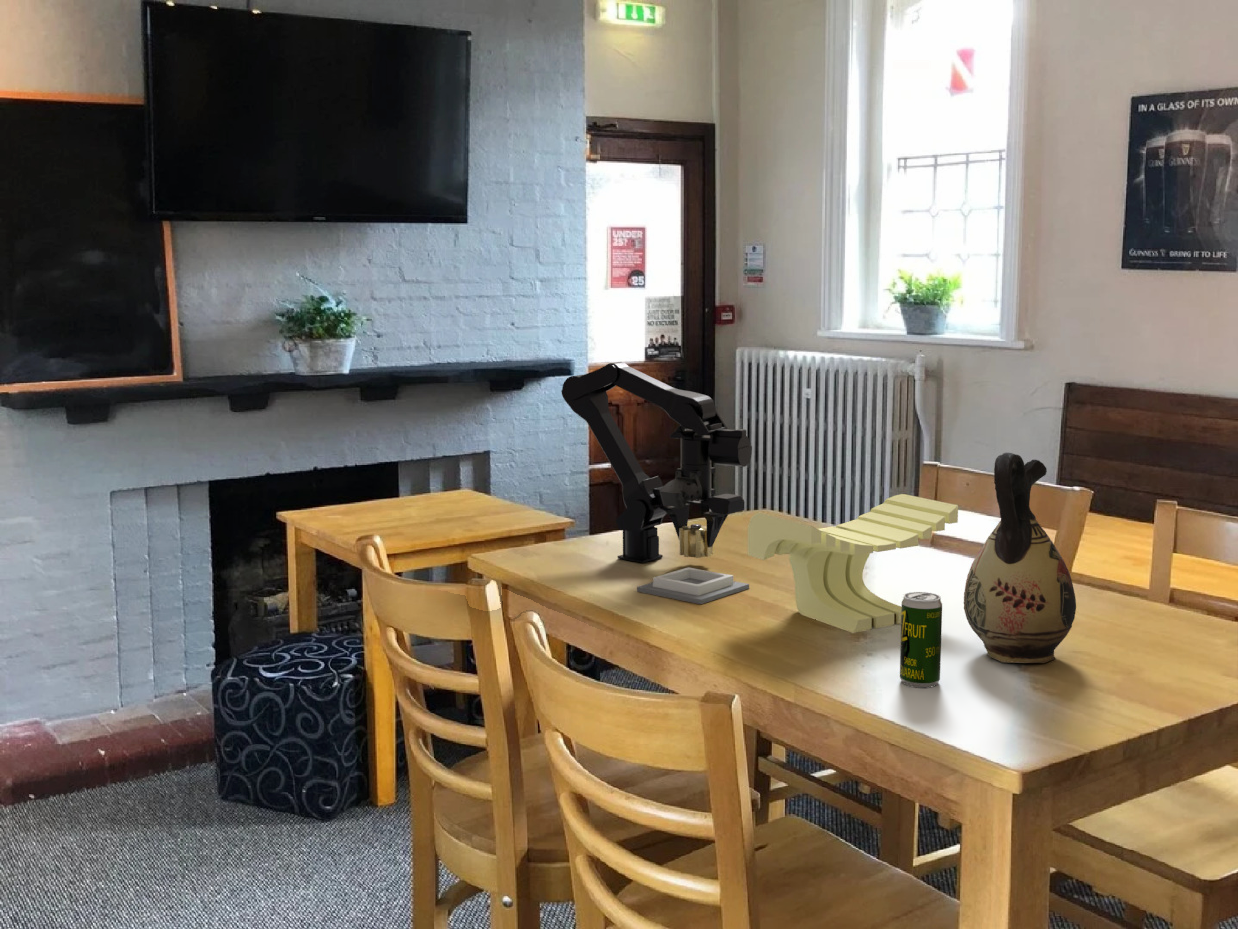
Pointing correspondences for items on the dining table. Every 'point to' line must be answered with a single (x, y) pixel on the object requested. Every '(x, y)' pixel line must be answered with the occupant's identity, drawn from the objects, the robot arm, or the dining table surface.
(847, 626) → the slatted curved stool
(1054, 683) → the dining table surface
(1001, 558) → the ceramic jug
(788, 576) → the dining table surface
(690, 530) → the gear
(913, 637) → the green soda can
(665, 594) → the carrier plate
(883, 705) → the dining table surface
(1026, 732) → the dining table surface
